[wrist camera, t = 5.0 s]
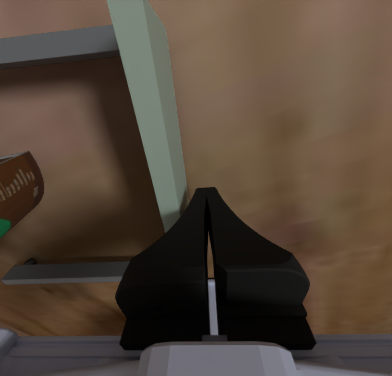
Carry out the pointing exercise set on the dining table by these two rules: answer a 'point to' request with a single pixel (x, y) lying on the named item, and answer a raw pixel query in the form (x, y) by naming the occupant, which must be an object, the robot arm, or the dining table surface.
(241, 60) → the dining table surface
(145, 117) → the grey u-shaped frame
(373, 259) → the dining table surface
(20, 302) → the dining table surface
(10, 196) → the food container
